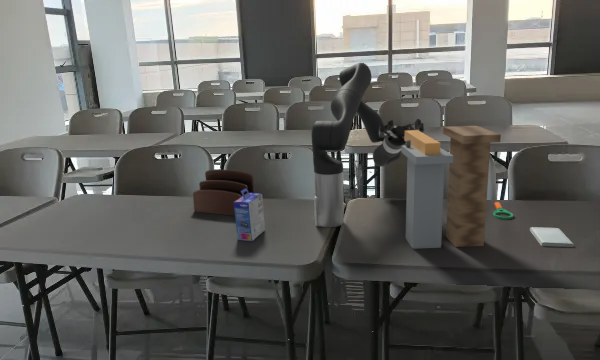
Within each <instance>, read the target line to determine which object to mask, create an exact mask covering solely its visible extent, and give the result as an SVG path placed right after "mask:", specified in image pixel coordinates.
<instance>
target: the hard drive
mask: <svg viewBox="0 0 600 360" xmlns="http://www.w3.org/2000/svg"><path fill="white" fill-rule="evenodd" d="M529 232H531V234H532V235H533V237H534V238H535V239H536V241H537V242H538V243H539V244H540V246H542V247H561V248H563V247H564V248H565V247H566V248H574V246H575V244H574V243H573V242H572V241H571V240H570V238H569V237H567V236H566V234H565V233H564V232H563V231H562V230H561V229H560V228H557V227H539V226H538V227H536V226H534V227H533V226H532V227H530V228H529Z"/></svg>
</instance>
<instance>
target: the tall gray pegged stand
mask: <svg viewBox="0 0 600 360" xmlns="http://www.w3.org/2000/svg"><path fill="white" fill-rule="evenodd" d="M433 139H434V140H436V141H437V139H436V138H433ZM401 154H403V155H404V156H405V157H406V158H407V168H406V170H407V171H406V205H405V208H406V209H405V211H406V212H405V240H406V241H407V243H408V244H409V246H410V248H411V249H413V250H414V249H416V250H417V249H440V248H442V235H443V234H442V231H443V212H444V210H443V209H444V186H445V168H446V167H445V165H446V164H449V163H453V155H452V154H450V152H449V151H446V150H445V149H443V148H441V147H440V154H434V155H424V154H423V153H422V152H420V151H419V150H417V149H416V148H414V147H413V146H412V145H411V140H406V144H405V145H404V146H402V150H401Z"/></svg>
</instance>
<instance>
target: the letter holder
mask: <svg viewBox="0 0 600 360" xmlns="http://www.w3.org/2000/svg"><path fill="white" fill-rule="evenodd" d="M204 175H205V180H201V181H199V186H198V187H199V189H198V190H194V191H193V193H192V199H193V200H192V201H193V211H194V212H195V213H202V214H203V213H204V214H214V215H223V216H233V217H235V209H234V202H235V201H236V200H238V199H239V198H241V197H242V196H243V195H242V193H241V191H242V190H244V189H245V188H246V189H247V190H248V192H249V193H255V189H254V188H255V185H254V177H253V174H252V173H251V172H245V171H242V170H241V171H240V170H234V169H211V170H210V169H209V170H208V169H207V170H206V171H205V173H204ZM245 194H247V192H246V191H245V192H244V195H245Z"/></svg>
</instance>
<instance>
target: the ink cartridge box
mask: <svg viewBox="0 0 600 360" xmlns="http://www.w3.org/2000/svg"><path fill="white" fill-rule="evenodd" d="M245 191H246V192H247V194H245V195H244V192H245ZM241 193H242V195H243V196H242V197H241V198H239V199H238V200H236V201H235V202H234V209H235V216H234V218H235V228H236V238H237V241H238V240H239V241H247V242H252V241H255V239H257V238H258V237H259V235H261V234H262V233H263V232H265V231H266V229H265V227H266V226H265V216H264V214H265V213H264V203H263V202H264V200H263V193H257V192H254V193H249V192H248V190H247V189H246V188H245V189H244V190H242V191H241Z"/></svg>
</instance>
